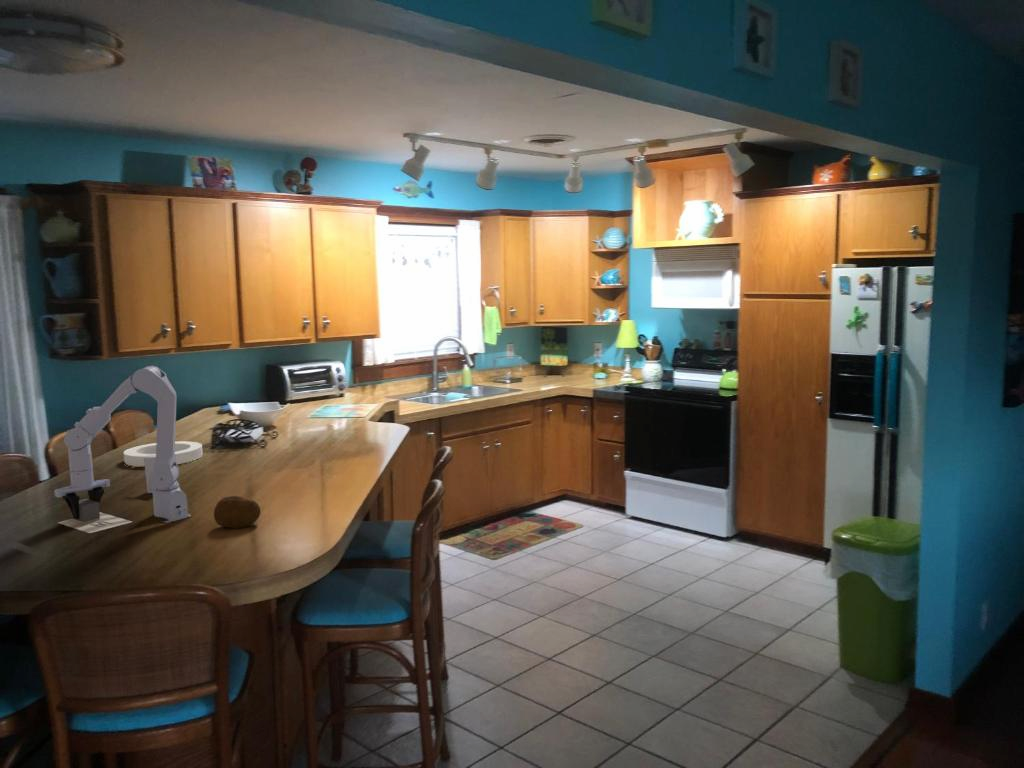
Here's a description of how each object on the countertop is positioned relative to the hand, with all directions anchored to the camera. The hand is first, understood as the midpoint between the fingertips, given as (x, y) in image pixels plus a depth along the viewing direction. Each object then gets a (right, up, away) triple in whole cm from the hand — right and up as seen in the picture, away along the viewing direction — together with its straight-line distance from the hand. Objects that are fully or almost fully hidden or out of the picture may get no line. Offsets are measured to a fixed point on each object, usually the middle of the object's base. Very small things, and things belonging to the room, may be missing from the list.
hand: (85, 516), depth 224 cm
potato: (+45, -2, -5) cm, 45 cm away
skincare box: (+5, +2, +34) cm, 35 cm away
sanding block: (0, -1, 0) cm, 1 cm away
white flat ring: (-14, +8, +83) cm, 84 cm away
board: (+4, -2, -3) cm, 5 cm away
